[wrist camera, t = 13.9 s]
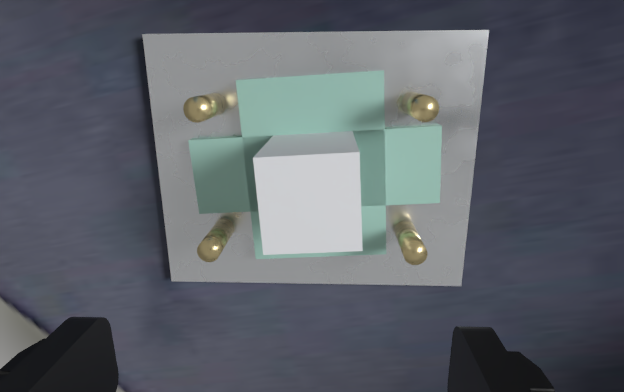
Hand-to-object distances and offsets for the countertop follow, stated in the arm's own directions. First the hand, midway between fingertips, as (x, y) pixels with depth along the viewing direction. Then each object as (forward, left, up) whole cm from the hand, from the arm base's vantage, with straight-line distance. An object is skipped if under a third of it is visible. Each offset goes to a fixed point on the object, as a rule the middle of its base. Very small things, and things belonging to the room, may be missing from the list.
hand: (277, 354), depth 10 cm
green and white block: (0, 0, -19) cm, 19 cm away
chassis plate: (0, 0, -20) cm, 20 cm away
